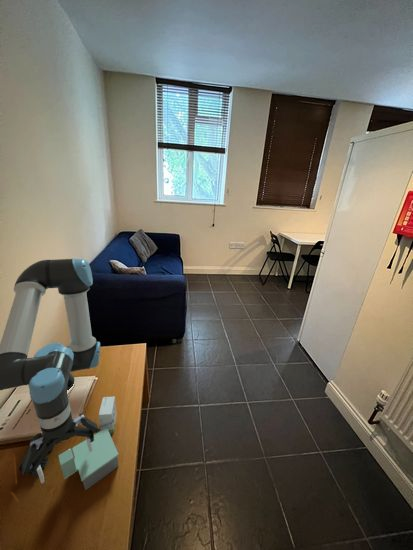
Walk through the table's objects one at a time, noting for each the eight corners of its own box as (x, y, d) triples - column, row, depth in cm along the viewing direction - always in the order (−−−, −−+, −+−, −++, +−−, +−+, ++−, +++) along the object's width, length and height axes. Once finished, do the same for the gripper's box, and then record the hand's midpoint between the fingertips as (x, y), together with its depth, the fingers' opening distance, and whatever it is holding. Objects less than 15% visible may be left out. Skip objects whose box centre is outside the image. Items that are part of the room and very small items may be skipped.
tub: (76, 461, 82) (74, 449, 79) (107, 441, 88) (106, 430, 86) (85, 491, 74) (82, 479, 71) (118, 467, 81) (117, 455, 78)
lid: (59, 459, 77) (55, 444, 74) (107, 430, 87) (105, 416, 84) (67, 493, 69) (63, 478, 66) (118, 457, 79) (117, 442, 76)
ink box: (114, 434, 91) (111, 414, 87) (101, 436, 90) (97, 416, 86) (117, 414, 99) (115, 395, 95) (105, 416, 98) (102, 396, 93)
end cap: (35, 445, 86) (31, 433, 83) (56, 442, 87) (53, 430, 84) (21, 476, 77) (16, 464, 74) (44, 472, 78) (40, 460, 75)
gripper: (-2, 459, 54) (19, 507, 62) (105, 402, 69) (110, 446, 77) (-3, 434, 59) (17, 481, 67) (97, 386, 74) (103, 429, 82)
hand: (67, 462), depth 72 cm, fingers open, 13 cm apart
